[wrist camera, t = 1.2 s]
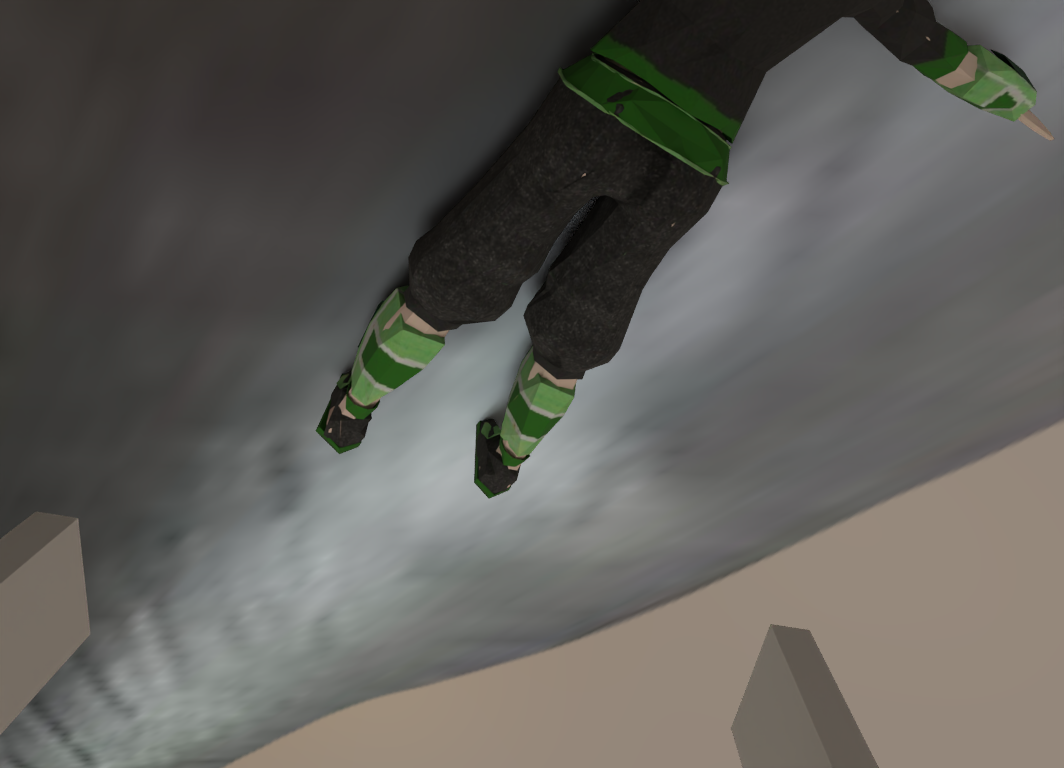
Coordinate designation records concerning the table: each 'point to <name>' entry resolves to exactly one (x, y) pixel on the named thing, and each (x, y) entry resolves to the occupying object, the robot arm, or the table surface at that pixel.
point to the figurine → (617, 197)
